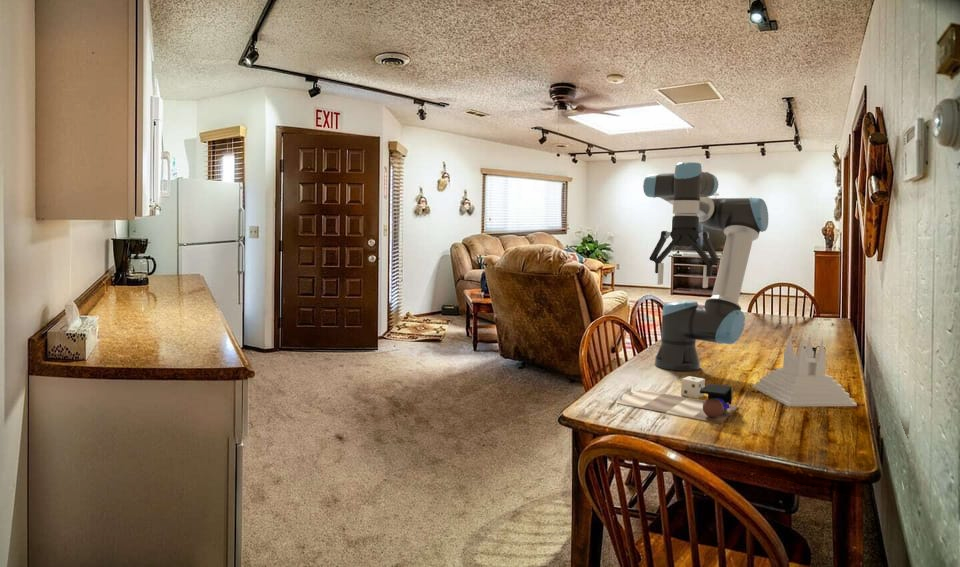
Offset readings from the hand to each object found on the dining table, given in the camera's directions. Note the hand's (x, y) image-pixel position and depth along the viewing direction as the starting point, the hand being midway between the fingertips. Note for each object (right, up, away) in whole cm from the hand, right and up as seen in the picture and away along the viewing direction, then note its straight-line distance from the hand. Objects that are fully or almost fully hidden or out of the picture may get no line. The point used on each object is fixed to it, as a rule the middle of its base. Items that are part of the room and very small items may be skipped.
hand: (682, 286), depth 187 cm
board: (-6, -33, -15) cm, 37 cm away
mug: (+46, -31, +15) cm, 58 cm away
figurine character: (+2, -34, -21) cm, 40 cm away
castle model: (+35, -33, -3) cm, 48 cm away
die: (+2, -32, -4) cm, 33 cm away
